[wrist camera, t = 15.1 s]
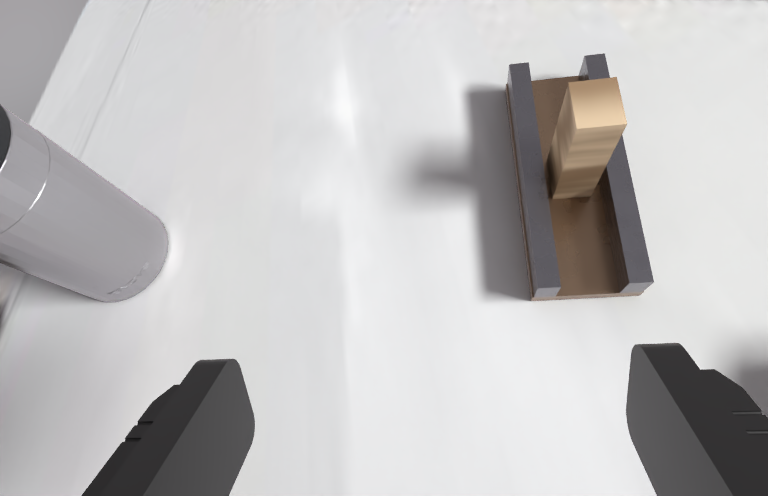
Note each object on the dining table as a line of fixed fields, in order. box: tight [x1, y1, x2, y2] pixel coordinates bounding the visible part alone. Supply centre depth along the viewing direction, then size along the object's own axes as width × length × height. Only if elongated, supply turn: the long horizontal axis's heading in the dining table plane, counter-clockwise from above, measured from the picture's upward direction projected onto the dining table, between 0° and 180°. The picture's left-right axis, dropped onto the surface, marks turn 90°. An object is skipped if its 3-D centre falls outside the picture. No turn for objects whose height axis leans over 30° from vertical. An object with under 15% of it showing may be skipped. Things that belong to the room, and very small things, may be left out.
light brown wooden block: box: [547, 77, 627, 199], centre depth 37 cm, size 4×3×10 cm
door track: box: [505, 54, 654, 301], centre depth 41 cm, size 20×8×4 cm, turn 1°
